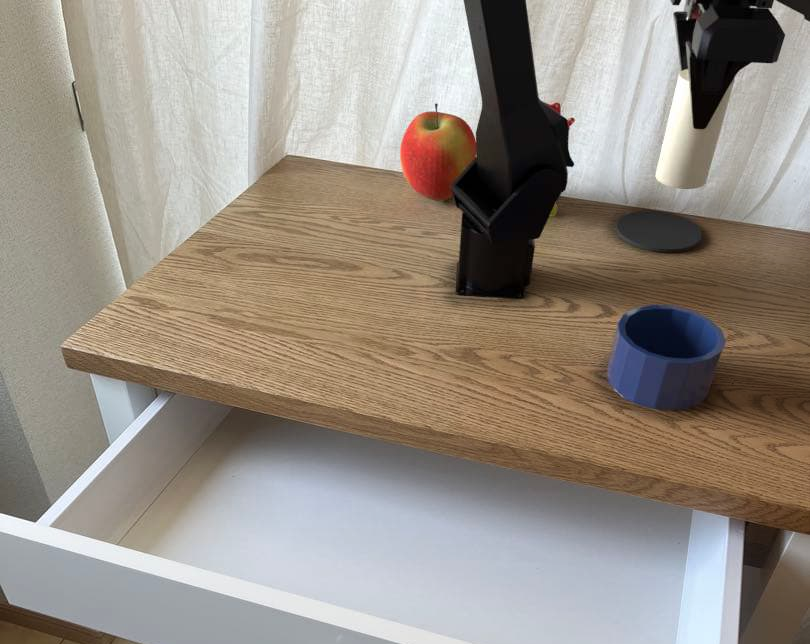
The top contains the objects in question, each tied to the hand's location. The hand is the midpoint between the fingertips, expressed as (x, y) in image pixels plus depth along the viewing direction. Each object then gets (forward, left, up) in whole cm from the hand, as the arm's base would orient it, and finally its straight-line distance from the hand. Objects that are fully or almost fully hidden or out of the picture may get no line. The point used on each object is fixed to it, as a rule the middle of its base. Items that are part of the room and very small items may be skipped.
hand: (695, 118), depth 76 cm
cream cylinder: (0, 0, -6) cm, 6 cm away
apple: (-24, +11, -13) cm, 29 cm away
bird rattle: (-13, +10, -13) cm, 21 cm away
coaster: (0, +5, -13) cm, 14 cm away
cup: (-4, -23, -13) cm, 27 cm away
